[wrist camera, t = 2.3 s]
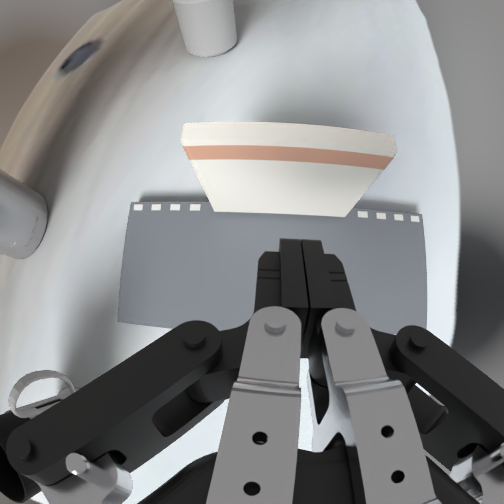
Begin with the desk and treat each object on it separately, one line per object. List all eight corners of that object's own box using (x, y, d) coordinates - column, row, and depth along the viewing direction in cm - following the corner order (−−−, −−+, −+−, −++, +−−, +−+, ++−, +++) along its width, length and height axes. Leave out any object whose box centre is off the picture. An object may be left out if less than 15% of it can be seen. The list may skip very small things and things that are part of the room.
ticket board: (124, 321, 27) (117, 321, 25) (136, 207, 29) (130, 201, 28) (419, 331, 25) (426, 332, 24) (415, 218, 28) (422, 213, 26)
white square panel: (214, 211, 26) (180, 140, 15) (215, 199, 27) (183, 123, 15) (345, 217, 26) (397, 152, 14) (344, 204, 26) (393, 134, 14)
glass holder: (48, 422, 24) (-34, 454, 10) (79, 334, 27) (-27, 338, 12) (101, 466, 23) (29, 523, 9) (141, 381, 26) (47, 427, 11)
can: (178, 45, 34) (160, -15, 23) (221, 27, 35) (212, -33, 23) (200, 67, 33) (183, -2, 21) (247, 47, 34) (242, -20, 22)
